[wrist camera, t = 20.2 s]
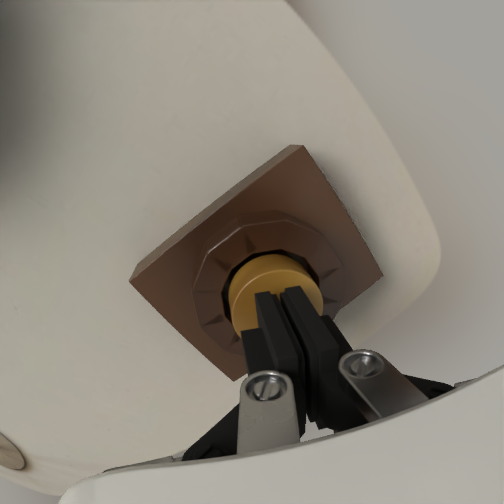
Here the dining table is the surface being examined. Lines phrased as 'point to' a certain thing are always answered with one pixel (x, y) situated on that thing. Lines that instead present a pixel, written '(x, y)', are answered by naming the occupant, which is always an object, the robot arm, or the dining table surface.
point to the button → (267, 287)
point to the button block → (255, 253)
